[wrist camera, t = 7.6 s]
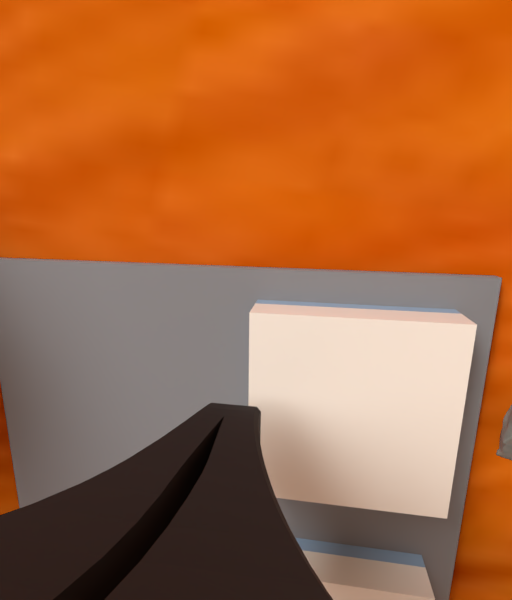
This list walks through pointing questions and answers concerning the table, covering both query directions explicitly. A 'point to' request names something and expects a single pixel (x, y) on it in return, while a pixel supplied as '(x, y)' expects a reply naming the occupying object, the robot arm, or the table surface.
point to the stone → (506, 437)
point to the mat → (196, 373)
